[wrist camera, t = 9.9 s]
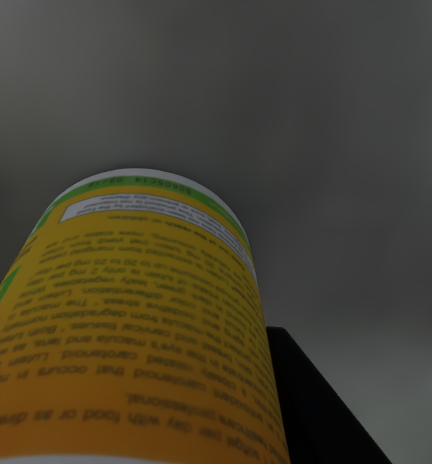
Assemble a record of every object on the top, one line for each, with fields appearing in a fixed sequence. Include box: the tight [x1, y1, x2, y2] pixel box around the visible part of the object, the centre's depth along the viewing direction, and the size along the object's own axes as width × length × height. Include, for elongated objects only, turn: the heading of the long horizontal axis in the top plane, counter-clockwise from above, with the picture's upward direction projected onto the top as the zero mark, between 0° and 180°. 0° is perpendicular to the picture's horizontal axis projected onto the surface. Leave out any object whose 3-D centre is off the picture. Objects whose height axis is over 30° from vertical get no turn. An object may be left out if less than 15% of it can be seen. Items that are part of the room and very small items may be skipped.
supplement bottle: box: [0, 168, 291, 464], centre depth 6 cm, size 5×5×10 cm
